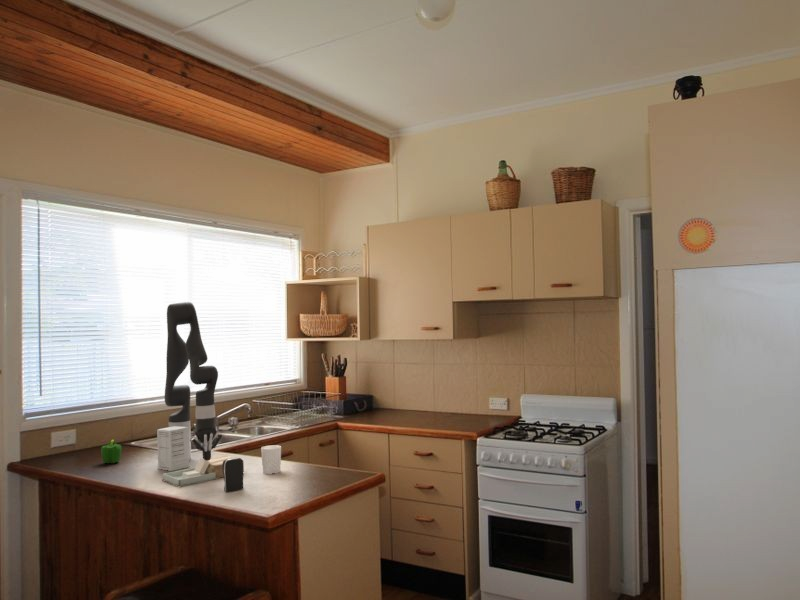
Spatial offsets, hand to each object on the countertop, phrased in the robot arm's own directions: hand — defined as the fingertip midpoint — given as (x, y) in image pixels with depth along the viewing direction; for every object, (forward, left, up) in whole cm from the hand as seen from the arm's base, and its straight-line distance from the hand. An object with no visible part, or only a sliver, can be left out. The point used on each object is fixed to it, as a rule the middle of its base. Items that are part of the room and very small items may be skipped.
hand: (206, 460), depth 248 cm
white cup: (+15, +20, -6) cm, 26 cm away
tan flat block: (0, +6, -6) cm, 9 cm away
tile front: (0, -7, -4) cm, 8 cm away
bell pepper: (-58, -17, -6) cm, 61 cm away
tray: (0, -8, -6) cm, 10 cm away
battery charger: (+28, -4, -6) cm, 29 cm away
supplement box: (-25, -3, -6) cm, 26 cm away
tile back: (0, -1, -3) cm, 3 cm away
